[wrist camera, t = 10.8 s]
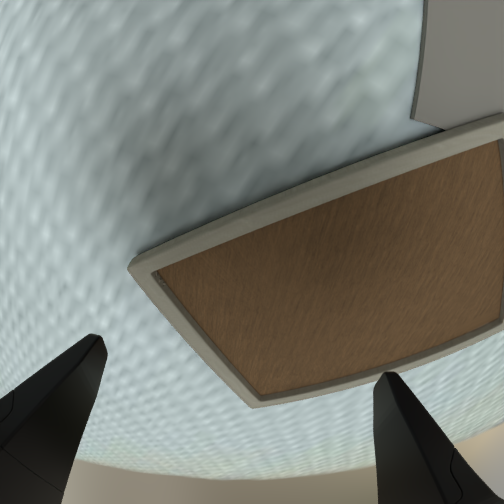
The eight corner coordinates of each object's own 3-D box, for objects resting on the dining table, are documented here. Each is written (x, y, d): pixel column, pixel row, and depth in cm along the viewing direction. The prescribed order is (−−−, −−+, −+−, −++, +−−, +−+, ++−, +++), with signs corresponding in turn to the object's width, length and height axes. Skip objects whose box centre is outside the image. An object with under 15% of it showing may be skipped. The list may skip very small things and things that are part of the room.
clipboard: (124, 268, 20) (541, 108, 11) (133, 255, 21) (527, 103, 12) (250, 409, 29) (533, 314, 19) (252, 396, 30) (526, 303, 21)
